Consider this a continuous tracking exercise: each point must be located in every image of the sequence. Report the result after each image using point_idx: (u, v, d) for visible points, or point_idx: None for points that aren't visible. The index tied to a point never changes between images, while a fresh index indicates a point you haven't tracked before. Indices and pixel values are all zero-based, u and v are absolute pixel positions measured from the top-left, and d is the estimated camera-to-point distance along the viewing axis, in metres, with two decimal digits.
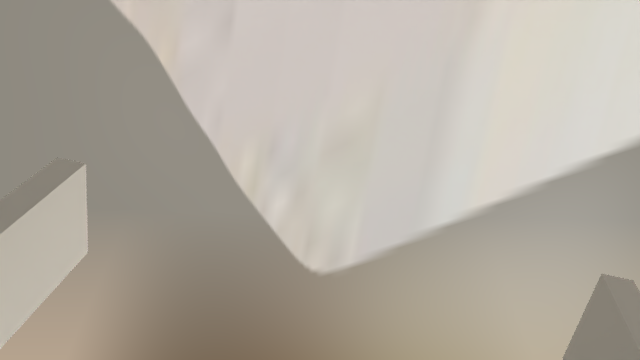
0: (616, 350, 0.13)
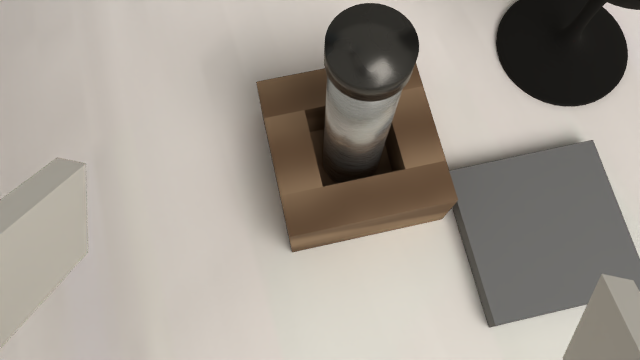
0: (617, 350, 0.13)
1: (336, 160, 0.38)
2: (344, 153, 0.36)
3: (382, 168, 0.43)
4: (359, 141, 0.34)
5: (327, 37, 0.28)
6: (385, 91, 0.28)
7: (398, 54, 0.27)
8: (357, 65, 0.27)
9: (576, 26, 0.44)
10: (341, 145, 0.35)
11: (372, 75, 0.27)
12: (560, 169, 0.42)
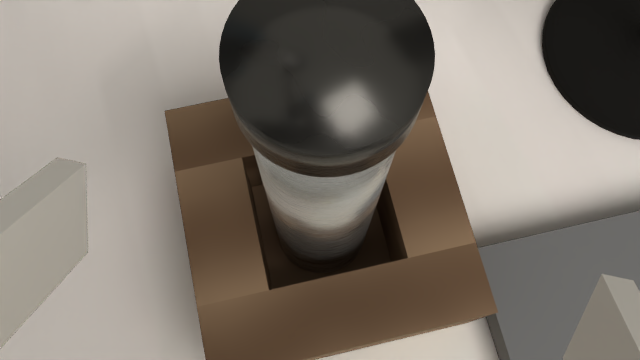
0: (616, 351, 0.13)
1: (291, 244, 0.23)
2: (300, 240, 0.21)
3: (371, 243, 0.27)
4: (321, 228, 0.18)
5: (226, 37, 0.12)
6: (358, 159, 0.12)
7: (387, 74, 0.12)
8: (292, 101, 0.12)
9: None
10: (292, 229, 0.20)
11: (326, 124, 0.12)
12: None
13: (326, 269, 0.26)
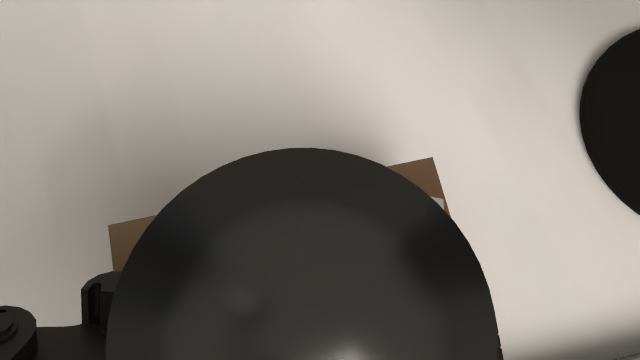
0: None
1: None
2: None
3: None
4: None
5: (121, 299, 0.07)
6: None
7: None
8: None
9: None
10: None
11: None
12: None
13: None
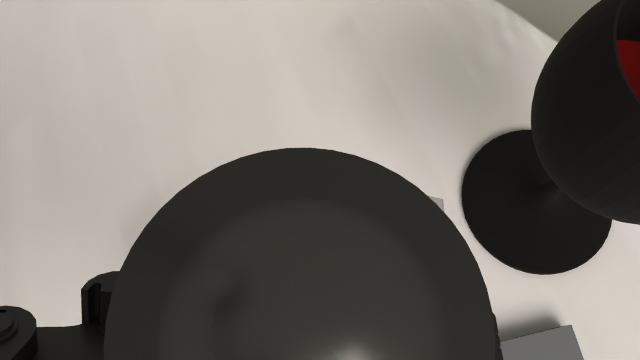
0: None
1: None
2: None
3: None
4: None
5: (119, 298, 0.07)
6: None
7: None
8: None
9: (551, 190, 0.37)
10: None
11: None
12: None
13: None
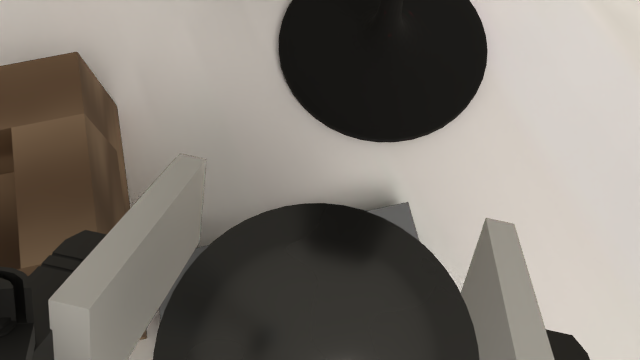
0: (487, 280, 0.14)
1: None
2: None
3: None
4: None
5: (164, 335, 0.08)
6: None
7: None
8: None
9: (384, 10, 0.26)
10: None
11: None
12: None
13: None
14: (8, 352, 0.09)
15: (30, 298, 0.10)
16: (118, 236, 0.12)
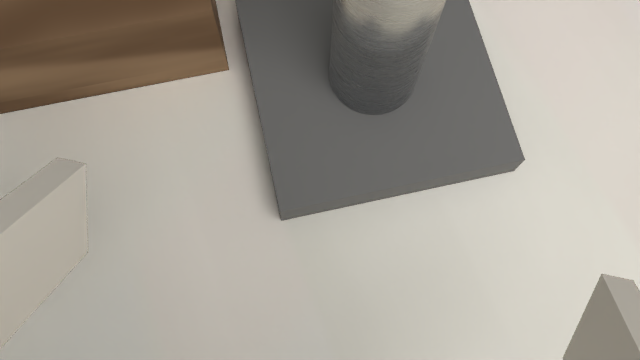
0: (616, 350, 0.13)
1: (353, 57, 0.23)
2: (368, 37, 0.21)
3: None
4: None
5: None
6: None
7: None
8: None
9: None
10: (364, 17, 0.20)
11: None
12: None
13: (379, 106, 0.26)
14: None
15: None
16: None
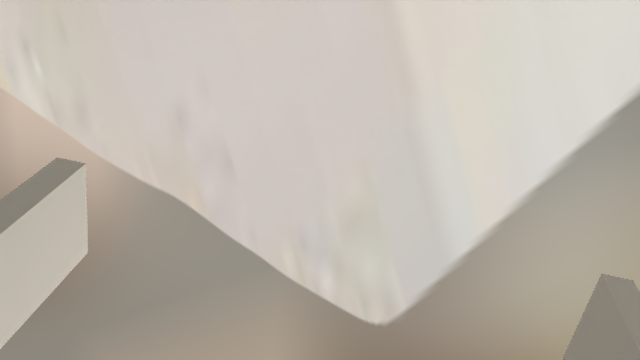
0: (616, 350, 0.13)
1: None
2: None
3: None
4: None
5: None
6: None
7: None
8: None
9: None
10: None
11: None
12: None
13: None
14: None
15: None
16: None
